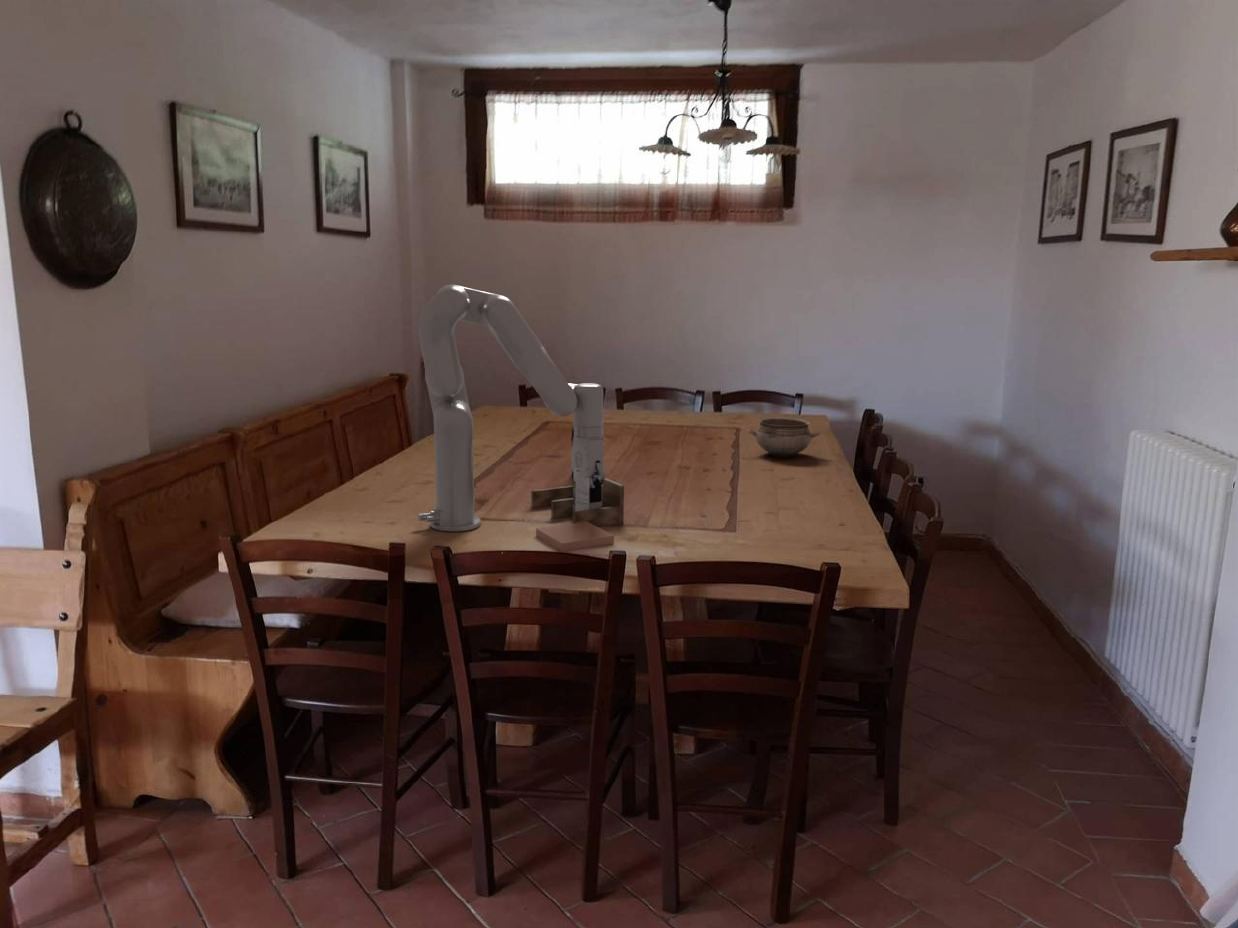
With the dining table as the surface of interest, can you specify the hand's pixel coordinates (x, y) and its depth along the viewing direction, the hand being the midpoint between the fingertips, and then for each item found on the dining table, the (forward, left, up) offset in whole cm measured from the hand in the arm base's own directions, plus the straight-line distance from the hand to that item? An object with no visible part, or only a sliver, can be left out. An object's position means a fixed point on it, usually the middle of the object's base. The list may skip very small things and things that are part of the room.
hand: (588, 498), depth 245 cm
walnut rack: (0, +6, -6) cm, 8 cm away
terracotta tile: (-11, -14, -6) cm, 19 cm away
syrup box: (0, 0, -6) cm, 6 cm away
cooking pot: (+100, +41, -6) cm, 108 cm away
